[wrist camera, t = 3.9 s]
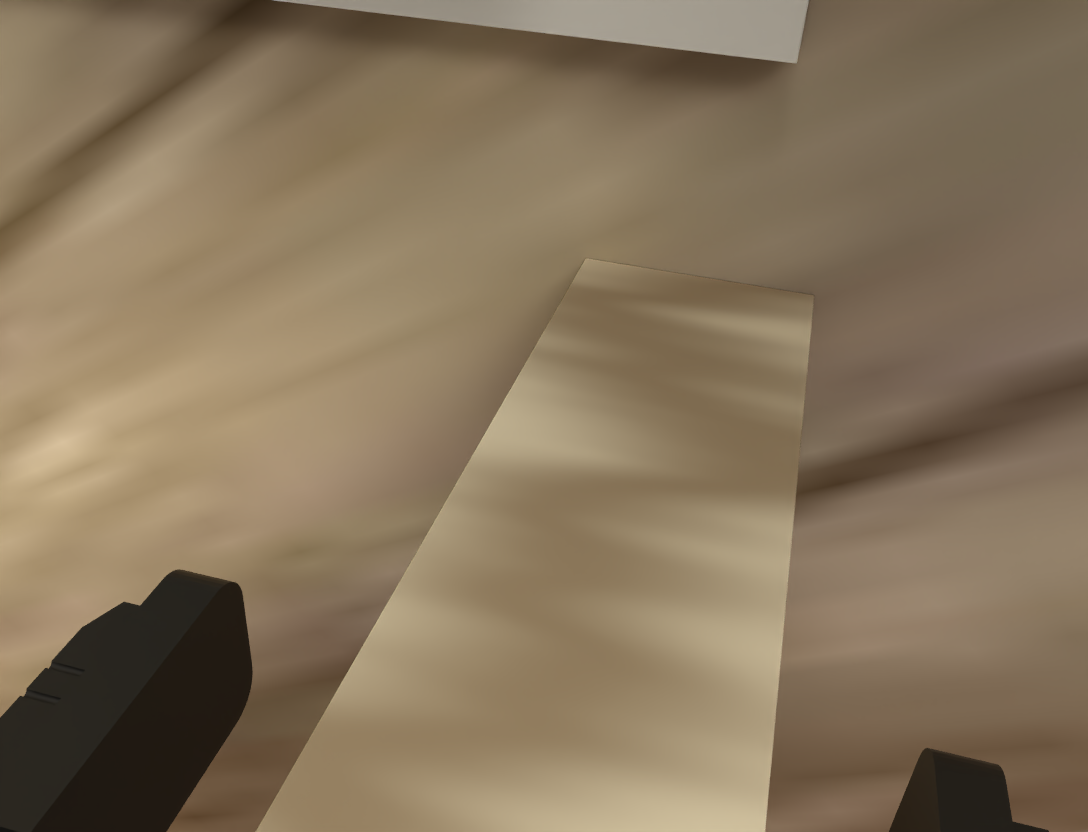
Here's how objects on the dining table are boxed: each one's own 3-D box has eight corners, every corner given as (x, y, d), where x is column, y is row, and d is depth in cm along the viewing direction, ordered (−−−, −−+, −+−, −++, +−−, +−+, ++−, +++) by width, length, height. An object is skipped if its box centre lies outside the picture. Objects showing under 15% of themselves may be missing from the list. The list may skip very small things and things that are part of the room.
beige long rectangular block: (814, 295, 17) (729, 1218, 6) (771, 483, 19) (652, 1414, 8) (585, 258, 18) (146, 1024, 7) (570, 443, 20) (215, 1248, 9)
